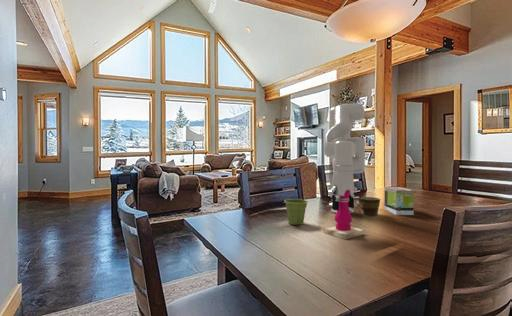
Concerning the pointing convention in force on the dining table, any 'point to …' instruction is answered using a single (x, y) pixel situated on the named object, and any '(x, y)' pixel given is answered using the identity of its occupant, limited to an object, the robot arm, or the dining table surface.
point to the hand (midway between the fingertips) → (343, 208)
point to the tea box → (399, 200)
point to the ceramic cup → (369, 205)
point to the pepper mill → (343, 213)
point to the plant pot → (296, 210)
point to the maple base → (343, 232)
